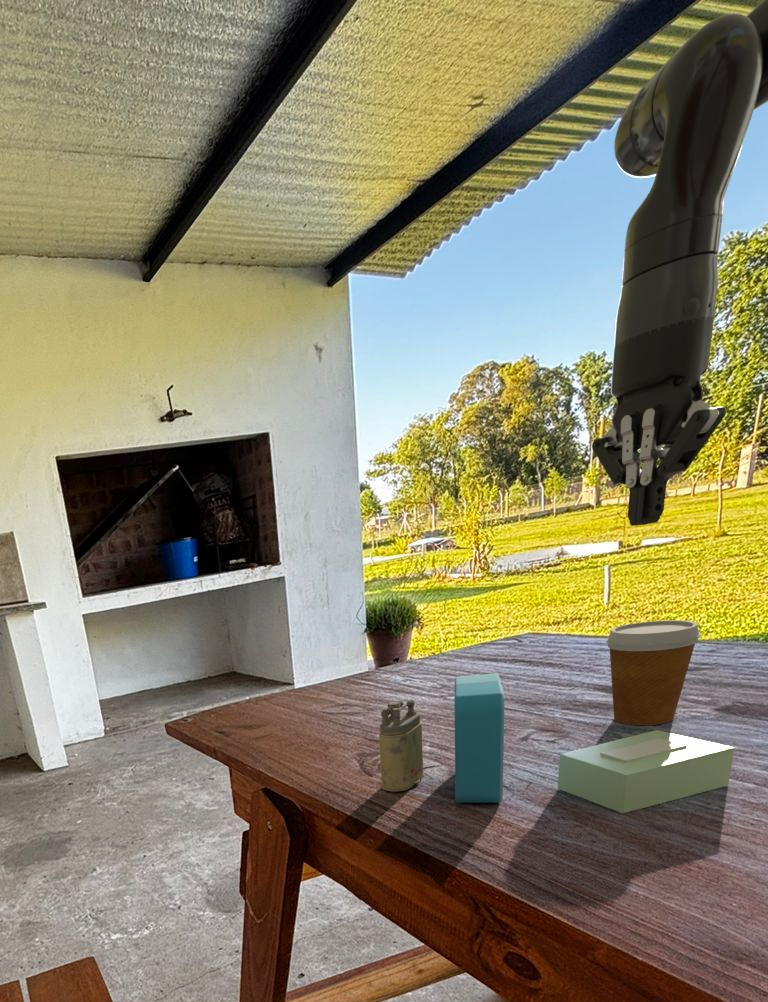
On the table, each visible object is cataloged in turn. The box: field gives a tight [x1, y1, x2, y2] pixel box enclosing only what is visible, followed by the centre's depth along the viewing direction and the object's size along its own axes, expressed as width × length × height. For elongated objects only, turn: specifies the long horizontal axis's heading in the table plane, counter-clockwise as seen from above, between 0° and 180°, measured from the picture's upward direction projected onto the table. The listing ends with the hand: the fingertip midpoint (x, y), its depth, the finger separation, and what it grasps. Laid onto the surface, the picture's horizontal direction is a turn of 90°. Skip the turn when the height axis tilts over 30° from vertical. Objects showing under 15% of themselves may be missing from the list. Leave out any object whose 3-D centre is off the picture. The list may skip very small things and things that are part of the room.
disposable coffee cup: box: [605, 619, 702, 726], centre depth 79 cm, size 10×10×12 cm
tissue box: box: [557, 729, 735, 814], centre depth 63 cm, size 12×4×8 cm
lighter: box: [378, 699, 425, 792], centre depth 74 cm, size 7×4×10 cm, turn 137°
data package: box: [454, 672, 505, 804], centre depth 68 cm, size 12×4×12 cm, turn 156°
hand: (644, 523), depth 65 cm, fingers closed
